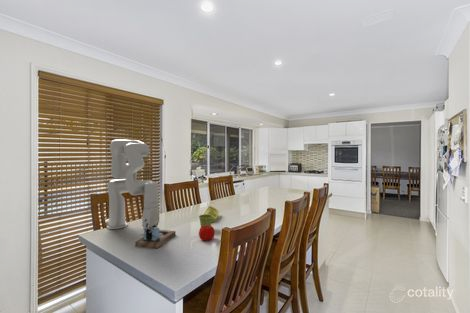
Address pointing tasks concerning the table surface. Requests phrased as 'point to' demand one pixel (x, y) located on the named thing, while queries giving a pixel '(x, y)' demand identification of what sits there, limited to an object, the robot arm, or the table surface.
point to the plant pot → (205, 219)
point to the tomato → (206, 232)
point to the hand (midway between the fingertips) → (151, 237)
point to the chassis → (159, 242)
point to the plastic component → (212, 213)
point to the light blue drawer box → (153, 234)
